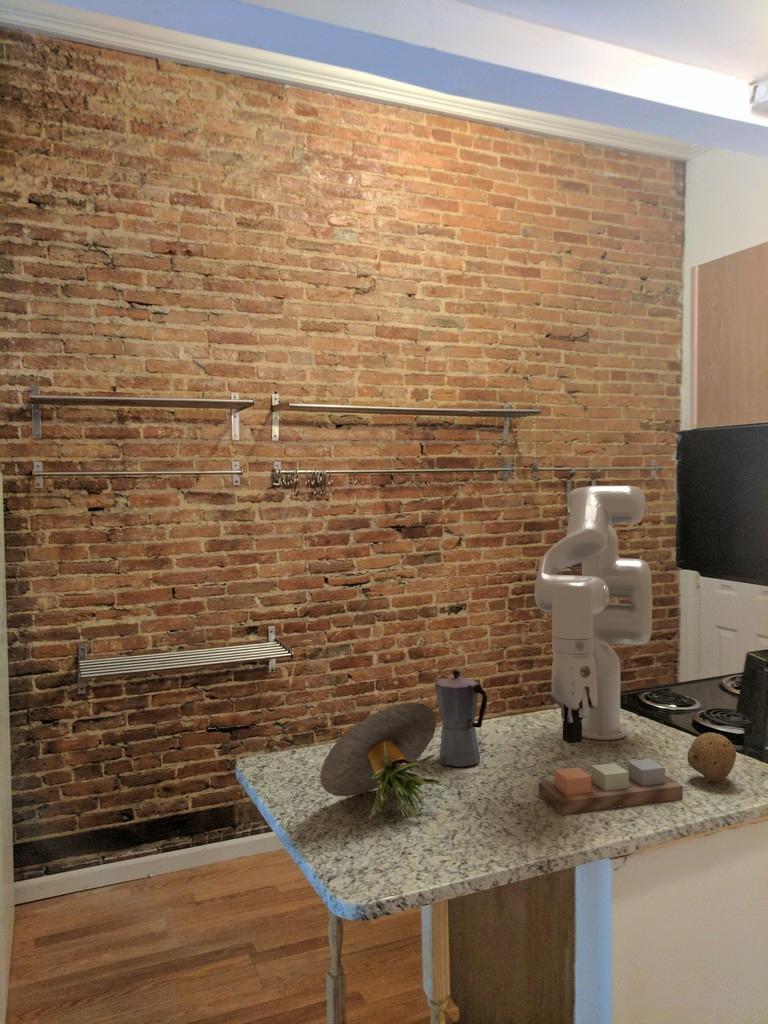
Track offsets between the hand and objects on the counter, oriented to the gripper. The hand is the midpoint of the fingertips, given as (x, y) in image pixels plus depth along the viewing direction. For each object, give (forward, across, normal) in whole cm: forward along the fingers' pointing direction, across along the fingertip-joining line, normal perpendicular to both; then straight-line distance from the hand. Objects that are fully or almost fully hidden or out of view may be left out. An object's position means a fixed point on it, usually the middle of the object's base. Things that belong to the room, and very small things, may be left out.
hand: (572, 741), depth 150 cm
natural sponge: (+12, +2, -32) cm, 34 cm away
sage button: (+10, +1, -8) cm, 13 cm away
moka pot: (+12, +27, +12) cm, 32 cm away
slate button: (+10, +1, -16) cm, 19 cm away
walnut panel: (+12, +1, -8) cm, 14 cm away
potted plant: (+12, +7, +35) cm, 37 cm away
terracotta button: (+10, +1, 0) cm, 10 cm away
